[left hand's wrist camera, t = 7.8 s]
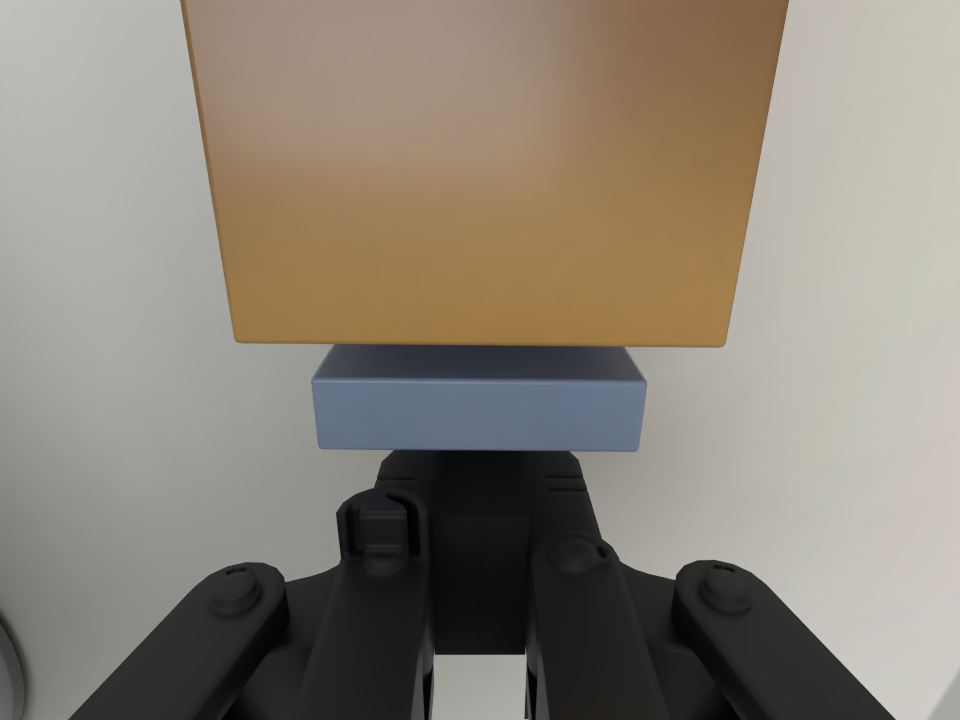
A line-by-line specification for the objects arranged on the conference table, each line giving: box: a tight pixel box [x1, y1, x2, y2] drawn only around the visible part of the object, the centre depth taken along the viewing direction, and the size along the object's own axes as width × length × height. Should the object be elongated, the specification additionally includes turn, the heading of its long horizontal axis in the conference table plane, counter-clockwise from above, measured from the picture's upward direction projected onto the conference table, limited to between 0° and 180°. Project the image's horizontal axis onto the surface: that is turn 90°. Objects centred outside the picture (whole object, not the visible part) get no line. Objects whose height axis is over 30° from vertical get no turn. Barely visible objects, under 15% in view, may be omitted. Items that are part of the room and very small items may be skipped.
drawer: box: [311, 344, 647, 452], centre depth 10 cm, size 24×5×8 cm, turn 179°
